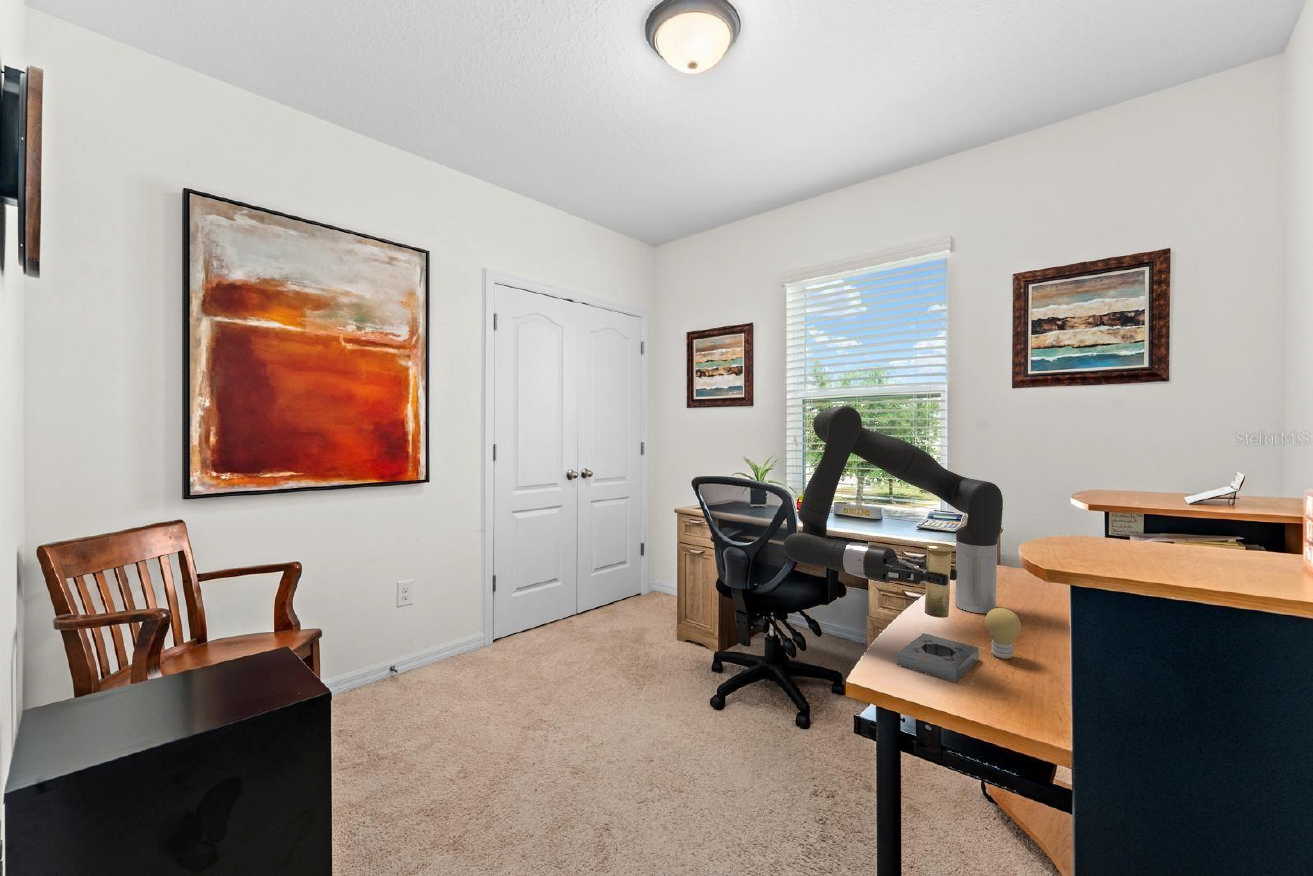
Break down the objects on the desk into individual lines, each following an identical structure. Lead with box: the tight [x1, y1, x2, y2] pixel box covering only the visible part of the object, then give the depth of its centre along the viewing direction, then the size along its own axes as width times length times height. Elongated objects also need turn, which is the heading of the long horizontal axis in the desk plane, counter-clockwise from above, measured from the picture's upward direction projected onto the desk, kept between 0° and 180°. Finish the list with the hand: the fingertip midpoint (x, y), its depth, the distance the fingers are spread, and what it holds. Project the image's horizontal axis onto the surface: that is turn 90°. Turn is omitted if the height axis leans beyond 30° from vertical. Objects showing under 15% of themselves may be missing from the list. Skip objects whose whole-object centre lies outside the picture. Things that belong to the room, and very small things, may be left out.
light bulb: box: [984, 607, 1022, 660], centre depth 117 cm, size 6×6×10 cm
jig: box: [896, 632, 980, 684], centre depth 115 cm, size 14×11×2 cm
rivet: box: [923, 542, 956, 619], centre depth 115 cm, size 6×6×14 cm
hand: (951, 577), depth 113 cm, fingers closed on rivet, 4 cm apart
